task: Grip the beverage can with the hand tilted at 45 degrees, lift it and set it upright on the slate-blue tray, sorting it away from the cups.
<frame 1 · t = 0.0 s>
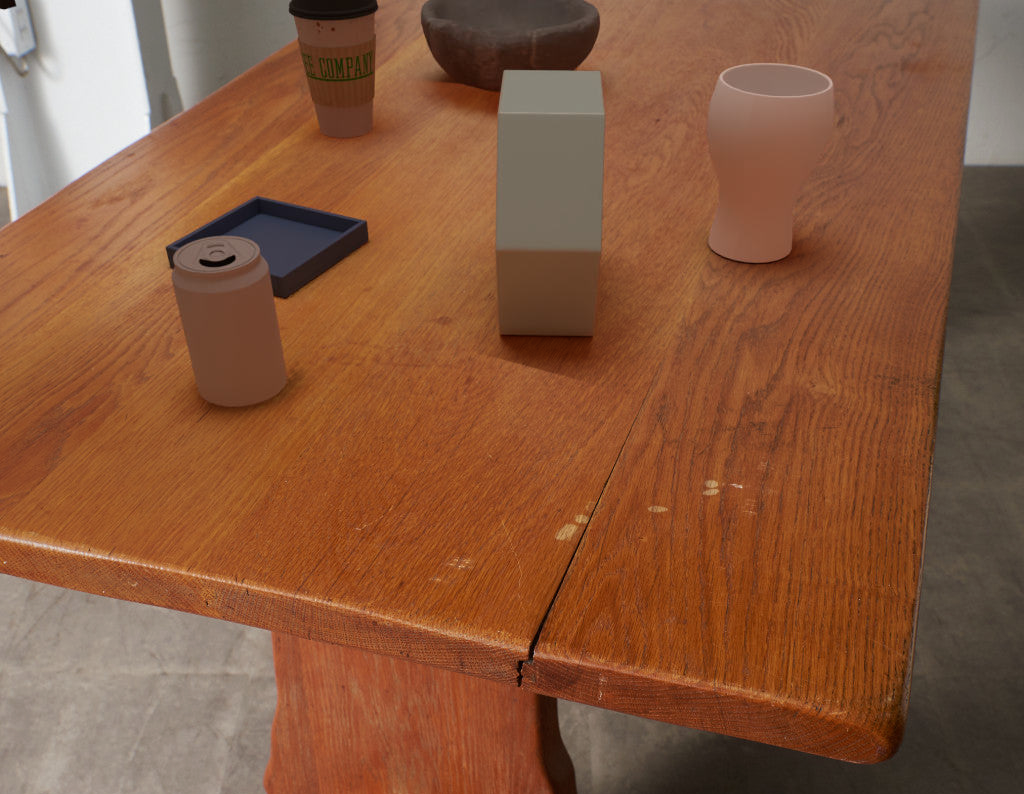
beverage can: (247, 405, 75), on the table
cup: (749, 247, 95), on the table
grey beige box: (546, 305, 86), on the table
tray: (271, 253, 94), on the table
coffee cup: (346, 130, 120), on the table
bowl: (510, 88, 132), on the table
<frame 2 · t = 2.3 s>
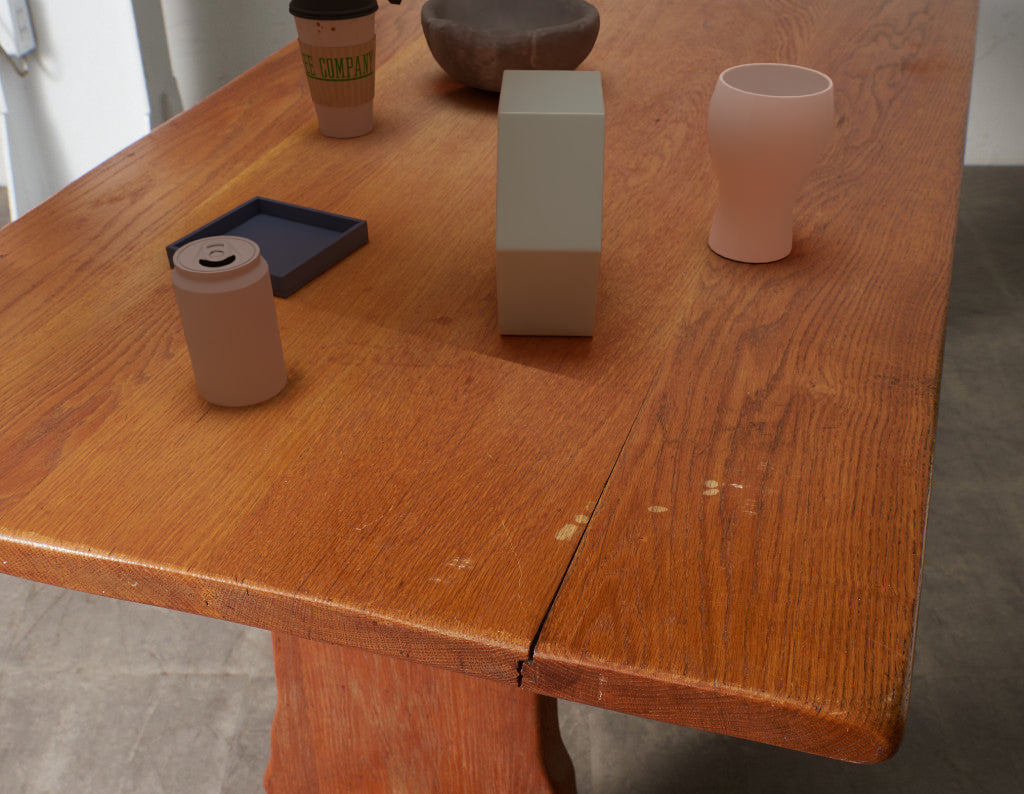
nothing on the table moved.
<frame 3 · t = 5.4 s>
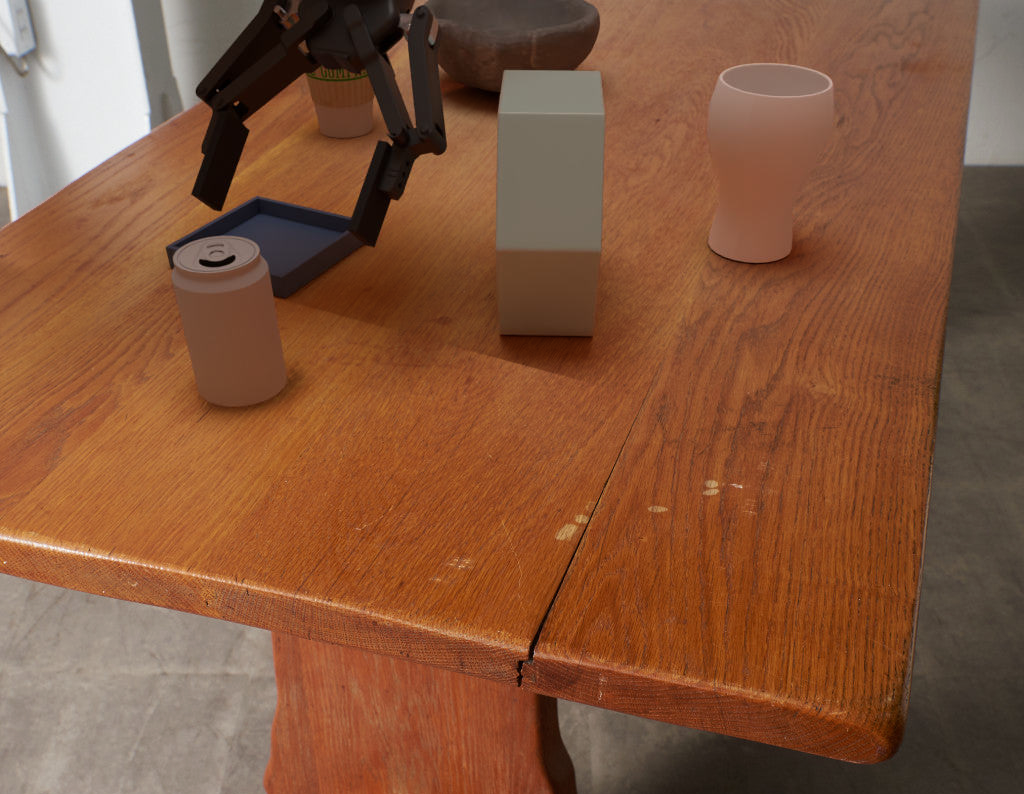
hand: (280, 221, 72), 12 cm above the table, tool tilted 45°, fingers open, 13 cm apart
nothing on the table moved.
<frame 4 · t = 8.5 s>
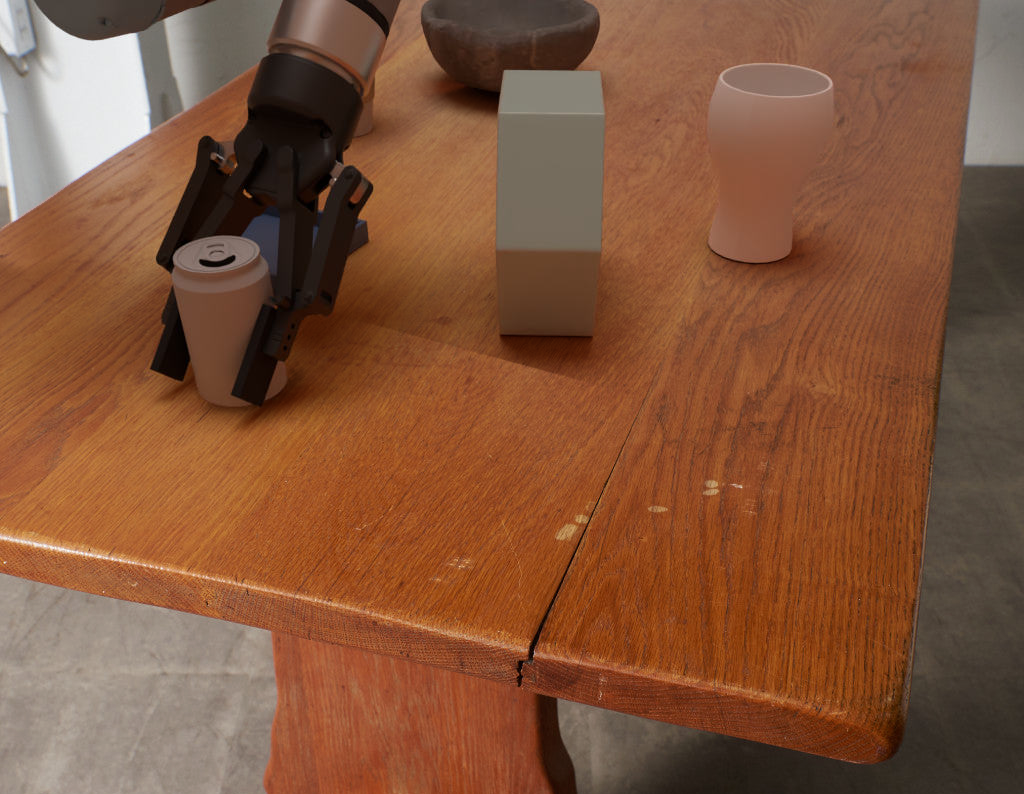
hand: (205, 387, 70), 3 cm above the table, tool tilted 45°, fingers closed on beverage can, 6 cm apart
beverage can: (247, 405, 75), on the table, touching gripper
everything else where it was.
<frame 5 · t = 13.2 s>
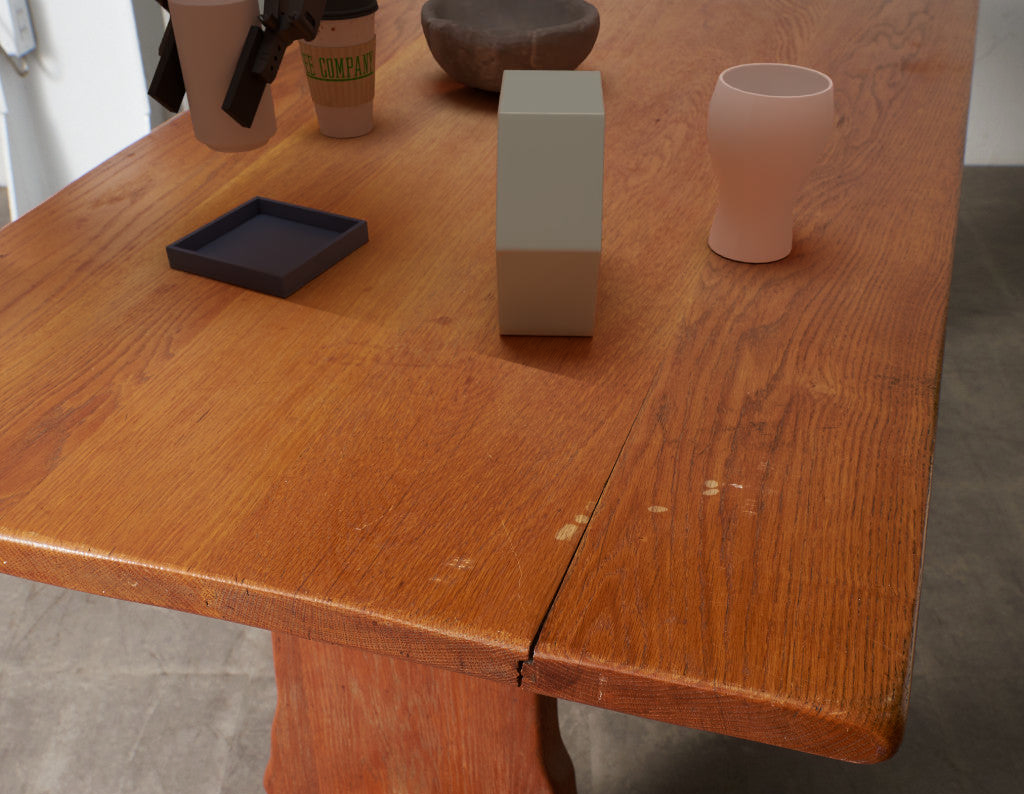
hand: (198, 110, 76), 16 cm above the table, tool tilted 45°, fingers closed on beverage can, 6 cm apart
beverage can: (238, 143, 80), point 13 cm above the table, touching gripper
everything else where it was.
when the fingers open (4 cm above the table, at t = 17.8 s): beverage can stays where it is, resting on tray.
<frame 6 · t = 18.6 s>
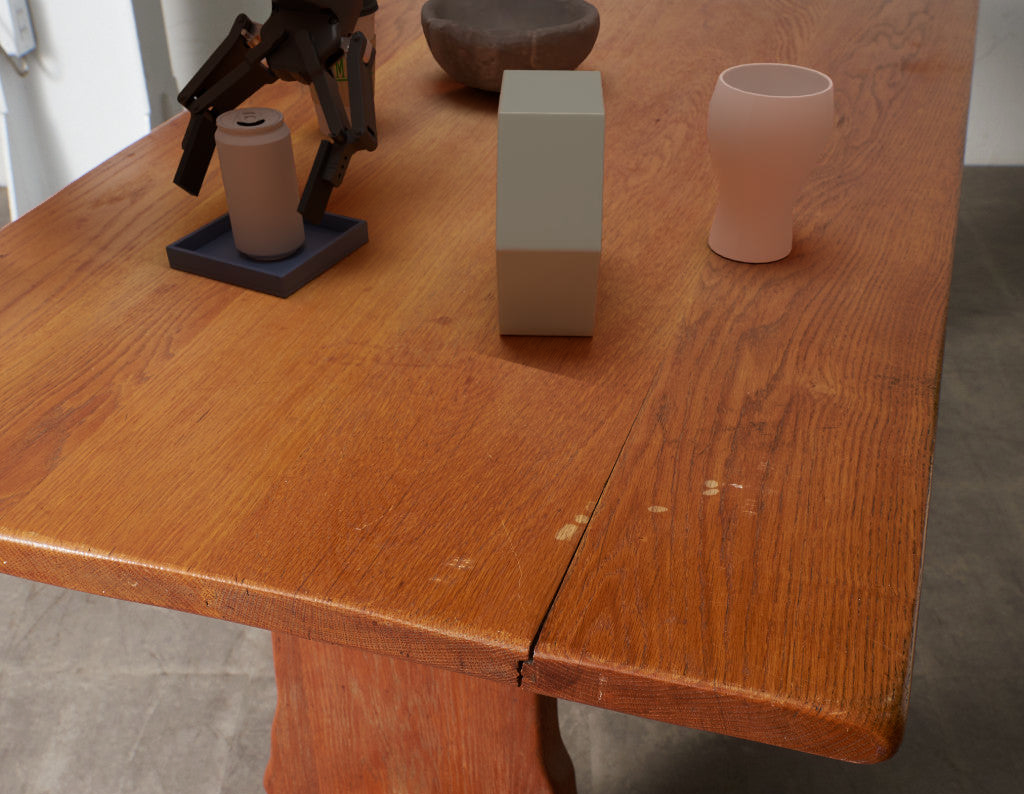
hand: (244, 204, 89), 6 cm above the table, tool tilted 45°, fingers open, 13 cm apart
beverage can: (271, 250, 94), resting on tray
everything else where it was.
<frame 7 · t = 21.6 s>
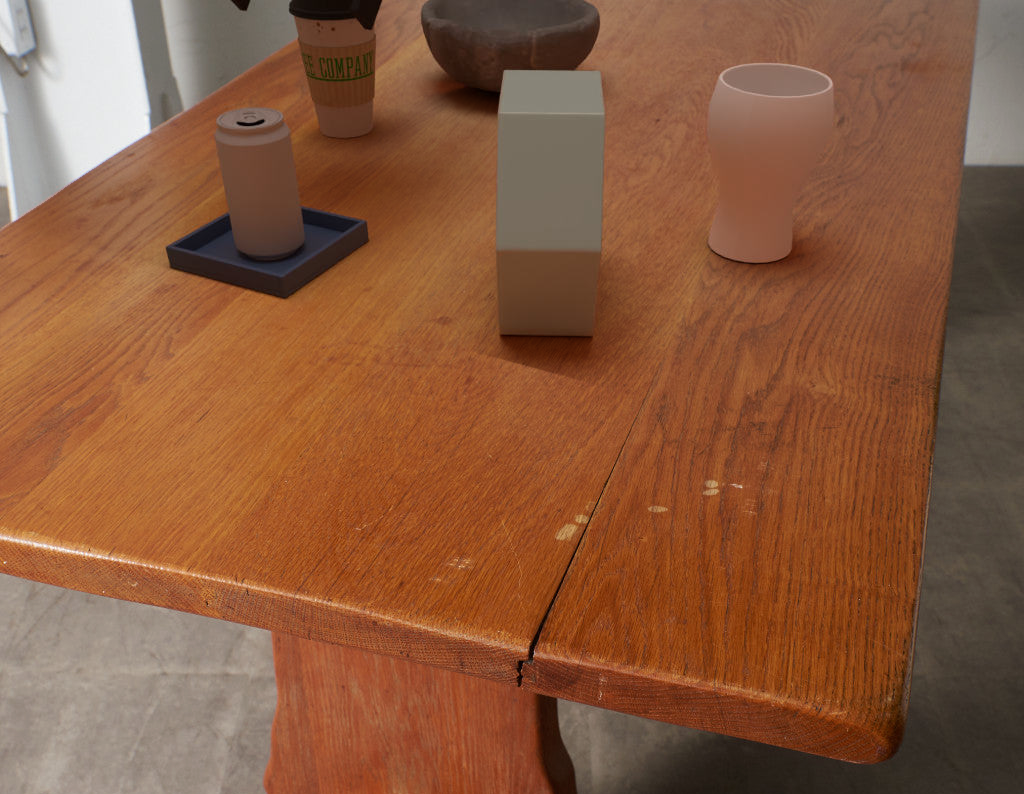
hand: (295, 11, 88), 19 cm above the table, tool tilted 45°, fingers open, 13 cm apart
nothing on the table moved.
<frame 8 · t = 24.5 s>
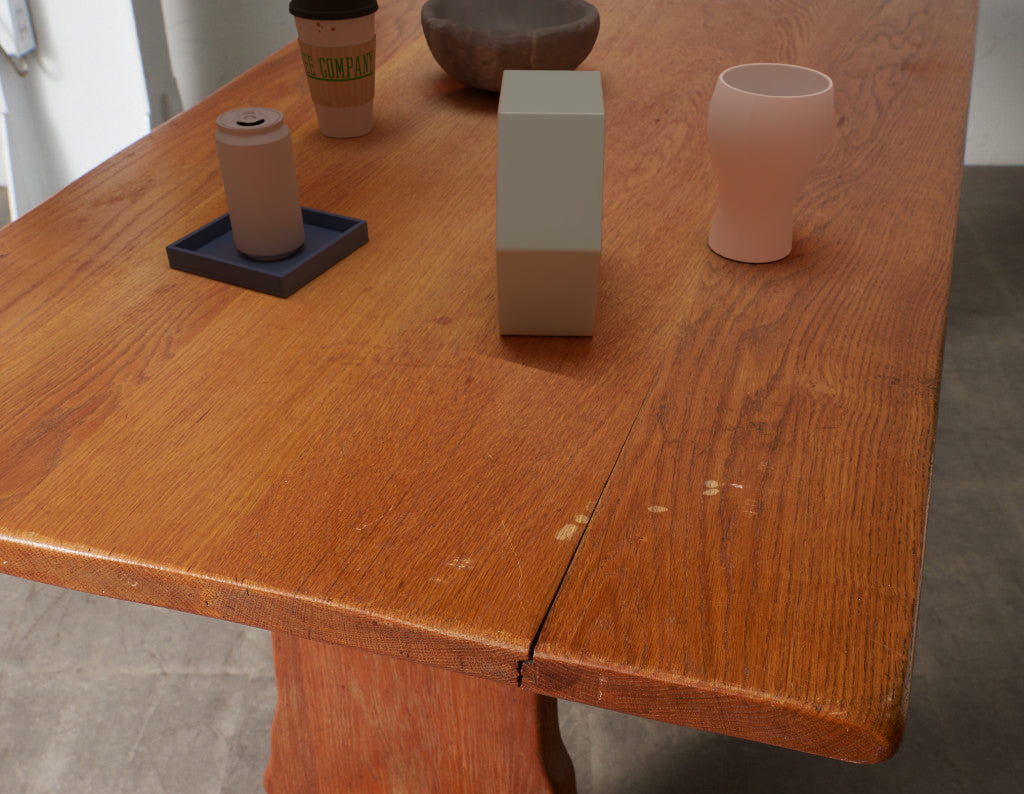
nothing on the table moved.
at the end: beverage can inside the target area in the tray (0.1 cm from its centre), point 0.3 cm above the tray's base; beverage can tilted 0°; the gripper is holding nothing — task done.
